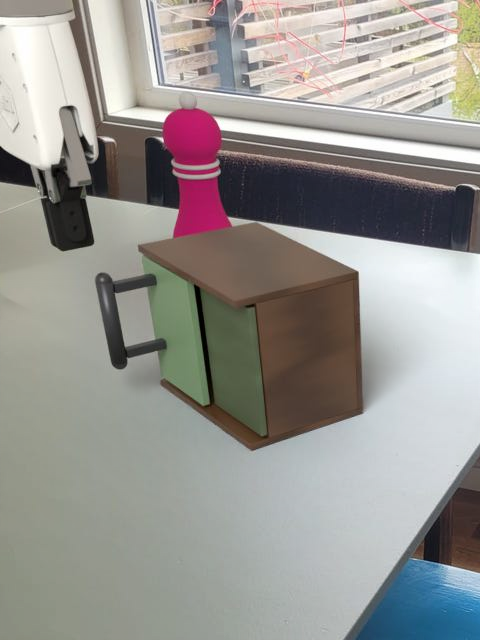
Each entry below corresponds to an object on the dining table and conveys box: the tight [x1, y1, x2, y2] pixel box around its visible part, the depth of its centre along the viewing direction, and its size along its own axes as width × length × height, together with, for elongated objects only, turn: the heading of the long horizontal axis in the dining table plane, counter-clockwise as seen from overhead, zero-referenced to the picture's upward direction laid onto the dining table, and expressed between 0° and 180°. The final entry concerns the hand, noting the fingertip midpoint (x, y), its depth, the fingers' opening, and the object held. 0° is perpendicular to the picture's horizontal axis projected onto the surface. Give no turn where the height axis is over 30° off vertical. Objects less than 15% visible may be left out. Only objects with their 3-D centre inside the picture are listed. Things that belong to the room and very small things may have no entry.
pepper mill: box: [162, 90, 234, 238], centre depth 108 cm, size 7×7×20 cm
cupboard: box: [137, 221, 364, 451], centre depth 89 cm, size 12×16×13 cm
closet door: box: [94, 254, 210, 406], centre depth 87 cm, size 6×8×11 cm
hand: (73, 245), depth 86 cm, fingers closed
